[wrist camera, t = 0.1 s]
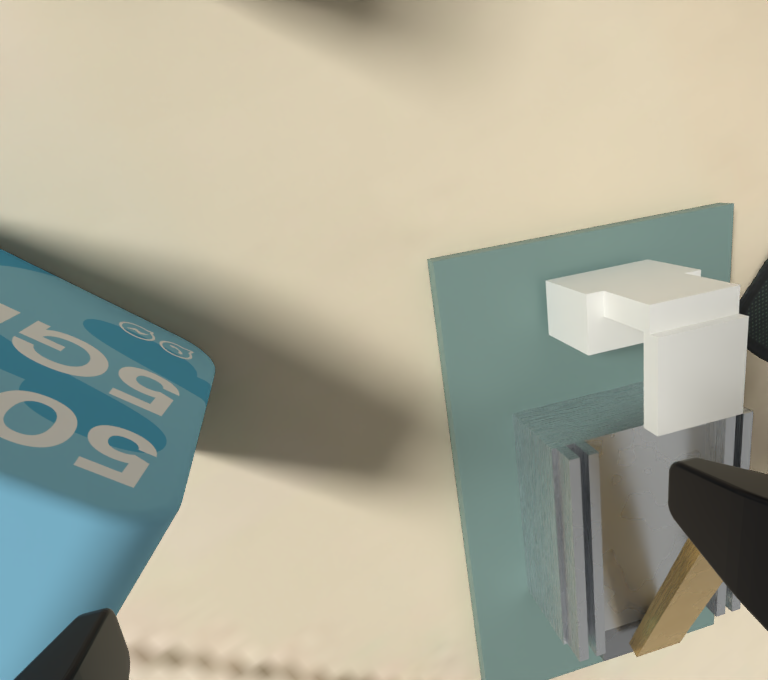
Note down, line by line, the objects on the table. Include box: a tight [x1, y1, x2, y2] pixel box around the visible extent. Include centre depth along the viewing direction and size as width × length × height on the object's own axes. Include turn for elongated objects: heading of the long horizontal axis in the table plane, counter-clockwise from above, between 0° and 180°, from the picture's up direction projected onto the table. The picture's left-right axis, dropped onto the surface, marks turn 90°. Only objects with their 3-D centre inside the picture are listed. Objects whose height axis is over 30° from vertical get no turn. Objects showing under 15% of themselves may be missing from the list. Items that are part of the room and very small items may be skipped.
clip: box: [546, 259, 749, 436], centre depth 21 cm, size 5×5×6 cm
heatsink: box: [512, 381, 753, 662], centre depth 25 cm, size 12×8×4 cm
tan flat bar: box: [629, 538, 723, 657], centre depth 21 cm, size 12×3×1 cm, turn 8°
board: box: [427, 203, 734, 680], centre depth 27 cm, size 24×14×1 cm, turn 9°
